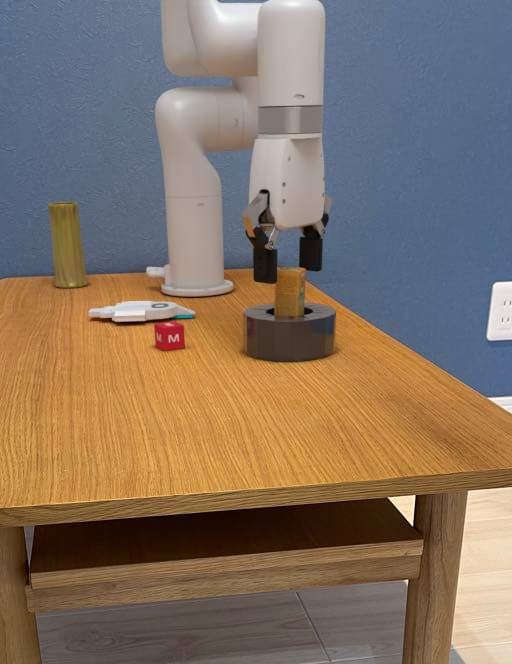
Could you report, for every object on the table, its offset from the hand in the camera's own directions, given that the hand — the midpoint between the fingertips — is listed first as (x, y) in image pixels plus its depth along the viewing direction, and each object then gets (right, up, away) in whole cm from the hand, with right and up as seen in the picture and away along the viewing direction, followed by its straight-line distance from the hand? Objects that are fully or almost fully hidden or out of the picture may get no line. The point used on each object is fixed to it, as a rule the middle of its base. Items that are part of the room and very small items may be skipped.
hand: (288, 276), depth 107 cm
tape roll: (0, -8, +4) cm, 9 cm away
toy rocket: (-21, +1, +24) cm, 31 cm away
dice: (-15, -7, +7) cm, 18 cm away
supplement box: (0, -8, +4) cm, 9 cm away
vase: (-37, +14, +51) cm, 65 cm away
